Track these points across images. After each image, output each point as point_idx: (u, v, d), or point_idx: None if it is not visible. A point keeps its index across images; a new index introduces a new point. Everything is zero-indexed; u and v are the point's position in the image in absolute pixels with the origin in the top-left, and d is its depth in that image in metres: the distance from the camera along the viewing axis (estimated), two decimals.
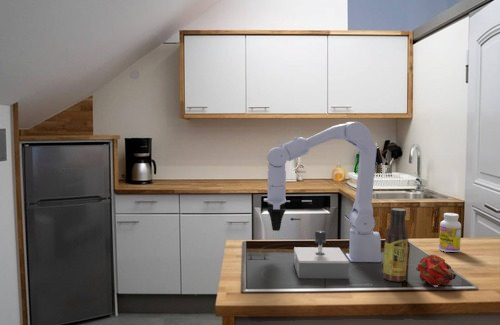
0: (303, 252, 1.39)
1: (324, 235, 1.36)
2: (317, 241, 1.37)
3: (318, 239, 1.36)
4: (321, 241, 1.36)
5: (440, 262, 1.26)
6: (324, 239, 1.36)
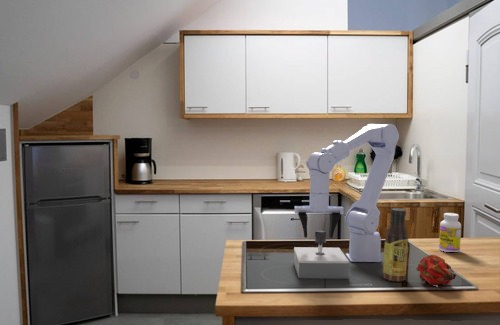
0: (303, 252, 1.39)
1: (324, 235, 1.36)
2: (317, 241, 1.37)
3: (318, 239, 1.36)
4: (321, 241, 1.36)
5: (440, 262, 1.26)
6: (324, 239, 1.36)
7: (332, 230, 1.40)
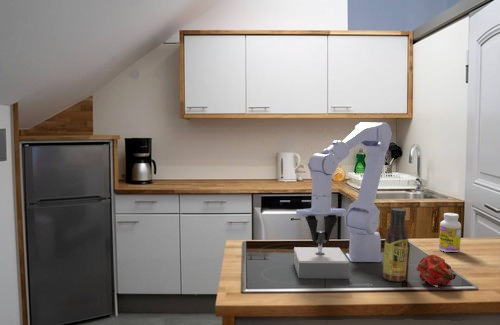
0: (303, 252, 1.39)
1: (324, 235, 1.36)
2: (317, 241, 1.37)
3: (318, 239, 1.36)
4: (321, 241, 1.36)
5: (440, 262, 1.26)
6: (324, 239, 1.36)
7: (329, 233, 1.36)
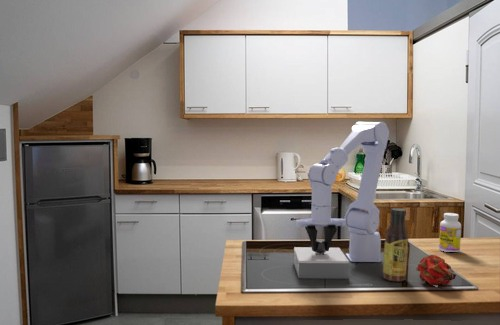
0: (303, 252, 1.39)
1: (324, 245, 1.37)
2: (317, 251, 1.37)
3: (318, 249, 1.36)
4: (321, 251, 1.36)
5: (440, 262, 1.26)
6: (324, 248, 1.37)
7: (328, 243, 1.37)
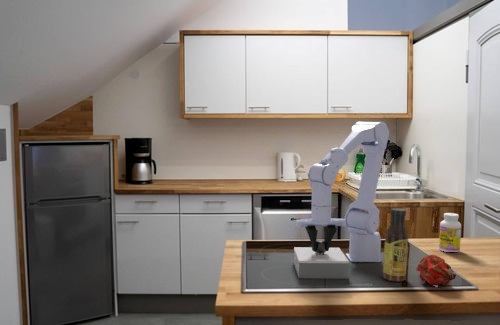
0: (303, 252, 1.39)
1: (324, 245, 1.37)
2: (317, 251, 1.37)
3: (318, 249, 1.36)
4: (321, 251, 1.36)
5: (440, 262, 1.26)
6: (324, 248, 1.37)
7: (328, 243, 1.37)
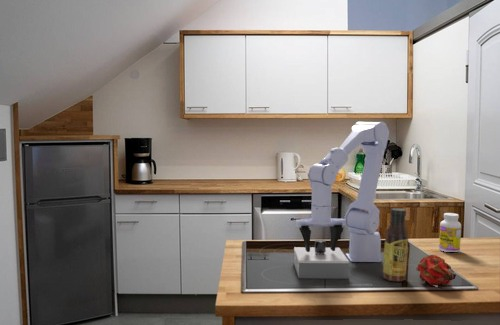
0: (303, 252, 1.39)
1: (324, 245, 1.37)
2: (317, 251, 1.37)
3: (318, 249, 1.36)
4: (321, 251, 1.36)
5: (440, 262, 1.26)
6: (324, 248, 1.37)
7: (335, 243, 1.37)
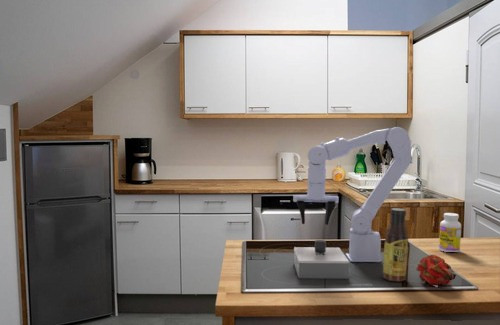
0: (303, 252, 1.39)
1: (324, 245, 1.37)
2: (317, 251, 1.37)
3: (318, 249, 1.36)
4: (321, 251, 1.36)
5: (440, 262, 1.26)
6: (324, 248, 1.37)
7: (328, 217, 1.52)
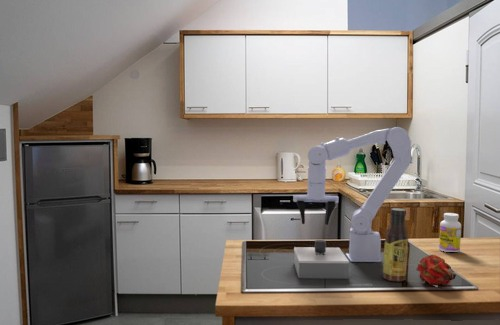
0: (303, 252, 1.39)
1: (324, 245, 1.37)
2: (317, 251, 1.37)
3: (318, 249, 1.36)
4: (321, 251, 1.36)
5: (440, 262, 1.26)
6: (324, 248, 1.37)
7: (328, 217, 1.52)
